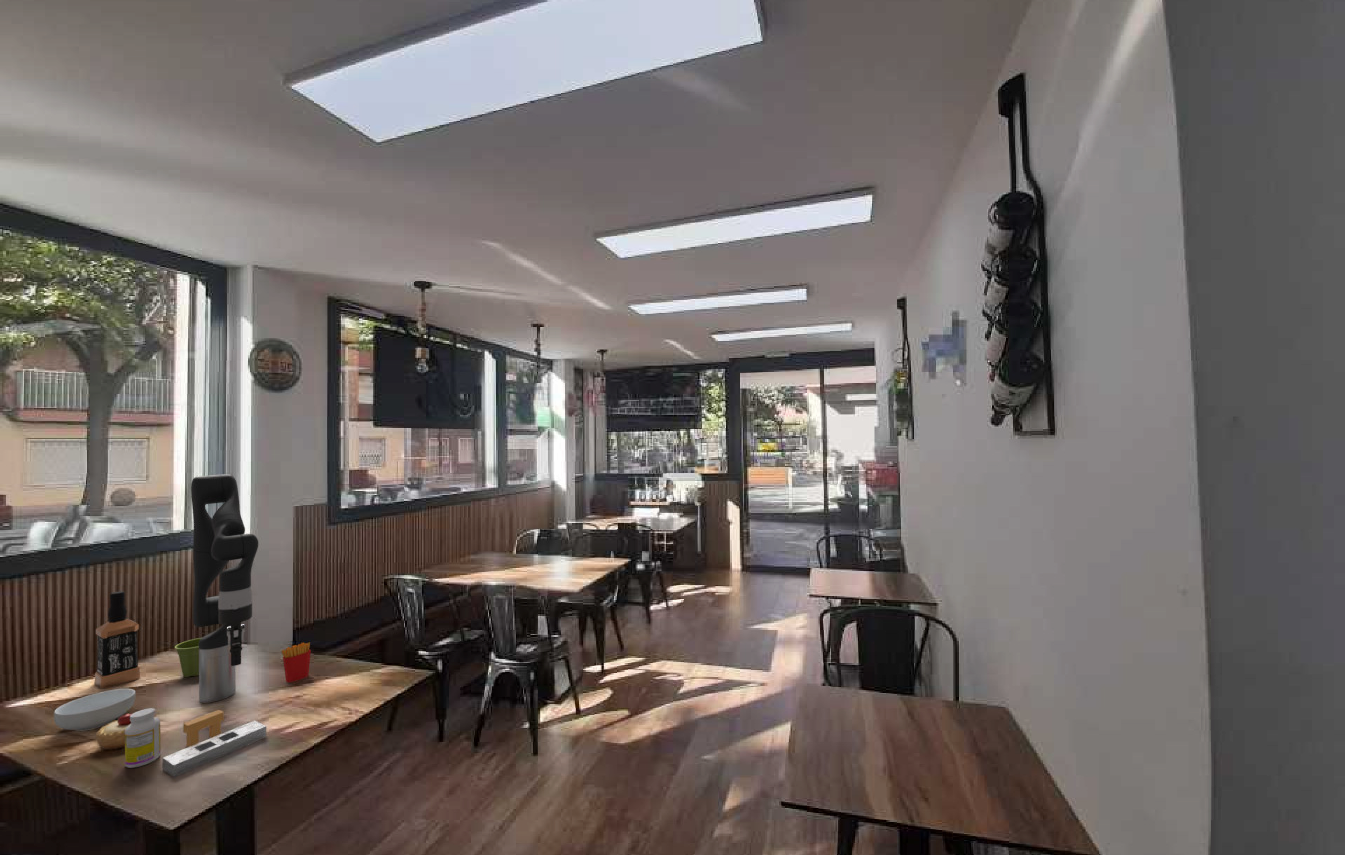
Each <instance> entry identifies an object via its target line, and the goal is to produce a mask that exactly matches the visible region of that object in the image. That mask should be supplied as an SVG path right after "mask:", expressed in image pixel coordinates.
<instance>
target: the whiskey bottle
mask: <svg viewBox="0 0 1345 855" xmlns="http://www.w3.org/2000/svg"><path fill="white" fill-rule="evenodd" d="M125 594H126V592H125V591H123V590H120V591H119V590H118V591H113V592H111V593H110V595H109V603H110V605H109V608H108V611H107V612H108V613H107V617H108V621H107V622H105V623H103V624H102V625H100V626H98V627H97V628H95V635H97V652H96V654H97V655H96V672H95V673H94V684H95V685H96V687H98V688H99V689H100V690H102V689H103V690H104V689H108V688H111V687H115V686H119V685H122V684H125V683H129V682H133V681H135V680H139V679H141V672H140V667H139V665H138V664H139V663H138V662H139V661H138V656H139V655H138V633H137V631H138V630H139V628H140V626H139V625H140V624H139V623H137V622H135V621H134V620H131V619H128V618H127V613H128V611H127V606H126V604H125V601H126V598H125V597H126V595H125Z"/></svg>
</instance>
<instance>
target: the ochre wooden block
mask: <svg viewBox="0 0 1345 855" xmlns="http://www.w3.org/2000/svg"><path fill="white" fill-rule="evenodd" d="M224 713H225V712H224V711H222V710H221V709H218V710H215V711H212V712H210V713H207V714H204V715H202V716H199V717H196V718H193V719H191V720H188V721H185V722H184V723H182V730H183V732H182V733H185V734H186V747H187V748H188V747H191V746H193V745H195V744H198V743H200V742H199V741H200V740H199V739H200V738H199V734H200V732H199V731H200V730H204V729H206V728H209V729H208V733H209V734H208V737H210V738H213V737H215V736H218V735H220V734H222V732H221V731H222V728H221V727H222V722H224V721H225V718H224V717H225V716H224Z"/></svg>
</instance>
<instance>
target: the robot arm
mask: <svg viewBox="0 0 1345 855" xmlns="http://www.w3.org/2000/svg"><path fill="white" fill-rule="evenodd" d="M190 495H191V497H190V498H191V505H192V506H191V508H192V518H193V541H192V555H193V556H192V557H193V558H192V559H193V560H192V561H193V562H192V563H193V564H192V565H193V578H194V580H193V581H194V582H193V583H194V584H193V599H192V623H193V625H194V627H196V628H205V627H210V626H214V625H215V626H216V625H221V626H220V627H218V628H217V629H216V630H214V631H212V632H211V633H208V634H206V635H204V636H202V637H200V638H201V639H200V640H199V675H198V702H200V703H212V702H218V701H222V700H223V699H226V698H230V697H231V696H233V695H235V693H236V690H237V689H236V688H237V686H236V685H237V684H236V683H237V682H236V679H237V678H236V666H240V665H241V664H242V651H243V647H242V644H243V643H244V641H245V640H244V638H245V637H244V634H245V632H246V631H245V624H242V622H246V621H249V620H250V619H251V618H252V617H253V591H252V569H253V568H252V567H253V564H254V560H255V557H256V555H257V552H258V548H259V539H258V537H257V536H256V535H255V534H252V533H246V527H245V524H244V521H243V517H242V515H241V510H240V509H241V506H240V498H239V487H238V482H237V479H236V478H235V477H234V475H232V474H227V473H225V474H223V473H222V474H211V475H209V474H208V475H200V476H198V475H197V476H195V477H193V479H192V480H191V484H190ZM221 503H223V504H222V505H221V506H220V507H219V508H218V509H217V510H216V511H215V512H214V514H213V515H212V517H211V516H210V514H209V513H208V511H207V507H206V506H207V505H212V504H213V505H214V504H221ZM235 560H240V562H239V563H238V564H237V565H234V566H232V567H228V568H226V567H227V565H228V563H229V562H230V561H235ZM218 577H219V578H218ZM217 578H218V580H219V593H218V595H215V596H209V597H207V595H208V591H209V590H210V588H211V586H212V585H213V583H214V582H215V580H216V579H217Z"/></svg>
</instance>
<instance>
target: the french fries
mask: <svg viewBox="0 0 1345 855" xmlns="http://www.w3.org/2000/svg"><path fill="white" fill-rule="evenodd" d="M310 645H311V642H307V643H305V642H300V643H299V644H298V645H297V644H295V645H292V646H291V647H289V646H288V647H286V649H282V650H281V653H282V656H283V657H282V661H283V669H284V676H285V682H287V683H293V682H297V681H300V680H302V679H305V678H307V677H308V676H309V673H310V664H311V663H310V662H311V652H312V651H311V649H310V647H311V646H310Z"/></svg>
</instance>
